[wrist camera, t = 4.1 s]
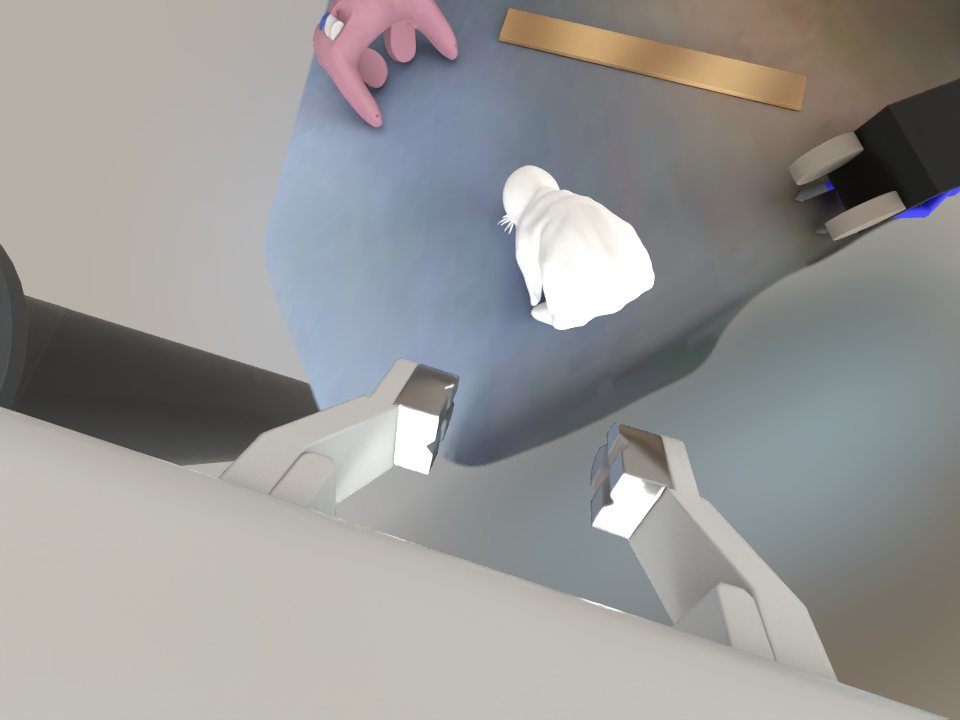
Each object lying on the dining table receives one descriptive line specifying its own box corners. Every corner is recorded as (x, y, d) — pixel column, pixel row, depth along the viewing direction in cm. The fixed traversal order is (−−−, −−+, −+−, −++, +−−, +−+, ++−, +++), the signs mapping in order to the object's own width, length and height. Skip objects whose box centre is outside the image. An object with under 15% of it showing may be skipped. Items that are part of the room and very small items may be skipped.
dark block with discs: (793, 273, 30) (995, 192, 29) (880, 225, 23) (1155, 113, 22) (749, 198, 31) (941, 117, 30) (818, 128, 24) (1075, 18, 23)
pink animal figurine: (433, 49, 34) (391, -58, 29) (467, 54, 32) (427, -64, 26) (350, 124, 33) (287, 27, 27) (377, 135, 31) (315, 30, 25)
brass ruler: (498, 40, 33) (498, 37, 32) (508, 11, 33) (509, 7, 33) (798, 110, 31) (801, 107, 31) (804, 79, 32) (807, 75, 31)
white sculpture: (572, 311, 19) (469, 130, 22) (551, 361, 27) (478, 223, 31) (689, 259, 19) (571, 88, 23) (634, 323, 28) (553, 191, 31)
